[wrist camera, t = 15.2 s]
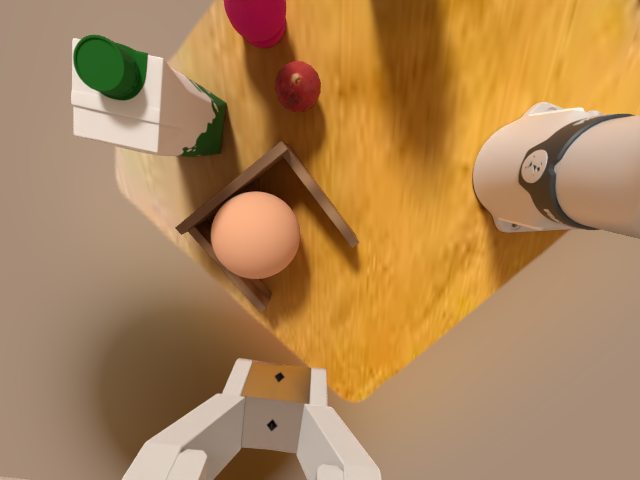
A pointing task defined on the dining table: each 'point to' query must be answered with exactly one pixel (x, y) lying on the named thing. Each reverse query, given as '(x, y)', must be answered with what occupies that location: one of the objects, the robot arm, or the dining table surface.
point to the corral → (199, 219)
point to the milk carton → (141, 102)
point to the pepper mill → (258, 20)
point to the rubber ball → (255, 235)
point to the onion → (298, 86)
